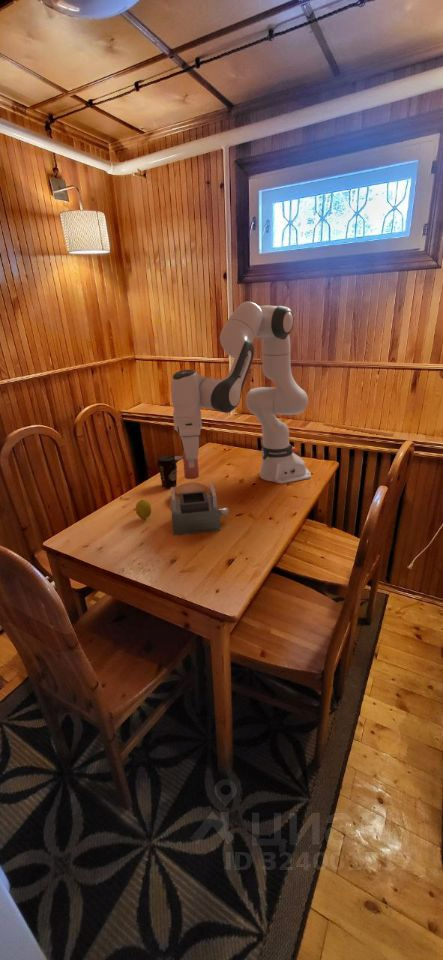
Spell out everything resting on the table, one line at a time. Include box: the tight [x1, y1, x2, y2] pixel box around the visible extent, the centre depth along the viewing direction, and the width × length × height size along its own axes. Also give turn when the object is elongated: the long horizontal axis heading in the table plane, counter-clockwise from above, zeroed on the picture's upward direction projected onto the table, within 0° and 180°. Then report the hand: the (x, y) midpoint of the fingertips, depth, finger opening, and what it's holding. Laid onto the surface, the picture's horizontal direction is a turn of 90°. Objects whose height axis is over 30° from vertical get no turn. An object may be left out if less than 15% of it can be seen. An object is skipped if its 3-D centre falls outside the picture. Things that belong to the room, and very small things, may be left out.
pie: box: [174, 482, 210, 499], centre depth 163 cm, size 15×16×5 cm
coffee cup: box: [156, 454, 178, 490], centre depth 174 cm, size 9×8×13 cm
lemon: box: [135, 498, 152, 520], centre depth 149 cm, size 6×6×8 cm
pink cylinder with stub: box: [174, 449, 200, 480], centre depth 136 cm, size 8×5×10 cm, turn 98°
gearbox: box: [170, 483, 230, 536], centre depth 143 cm, size 20×12×13 cm, turn 98°
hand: (190, 463), depth 136 cm, fingers closed on pink cylinder with stub, 5 cm apart
